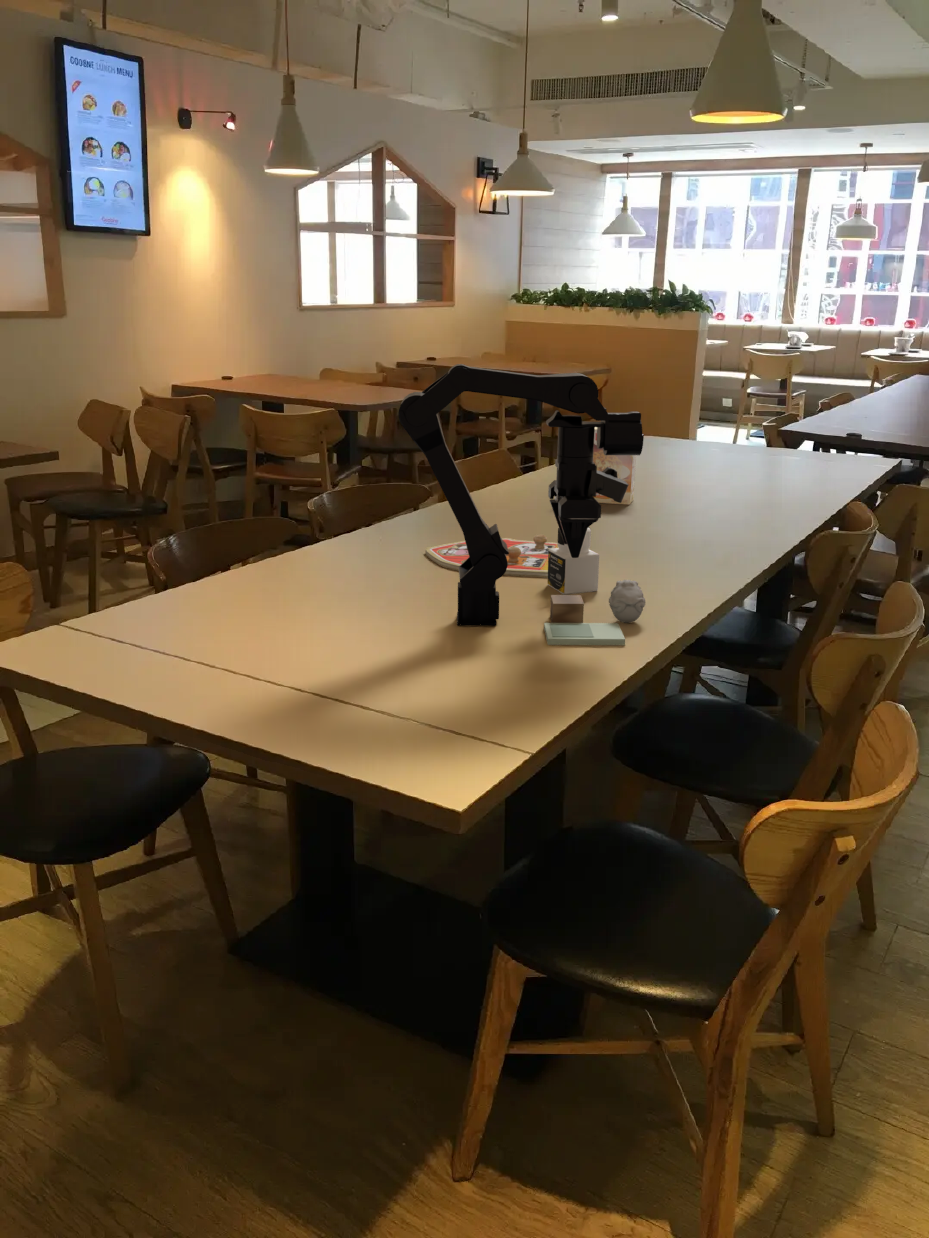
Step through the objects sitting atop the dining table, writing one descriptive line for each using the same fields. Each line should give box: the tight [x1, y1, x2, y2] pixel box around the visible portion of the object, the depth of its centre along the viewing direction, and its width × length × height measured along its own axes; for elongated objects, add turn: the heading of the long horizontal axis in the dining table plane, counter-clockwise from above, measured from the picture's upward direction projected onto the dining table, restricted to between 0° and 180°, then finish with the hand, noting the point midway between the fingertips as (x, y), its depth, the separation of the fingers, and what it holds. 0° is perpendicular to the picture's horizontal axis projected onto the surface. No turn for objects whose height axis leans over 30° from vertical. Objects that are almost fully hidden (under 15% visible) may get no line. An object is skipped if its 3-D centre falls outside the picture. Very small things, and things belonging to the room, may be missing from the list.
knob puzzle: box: [424, 534, 559, 579], centre depth 205 cm, size 29×30×4 cm
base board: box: [543, 622, 626, 646], centre depth 157 cm, size 12×8×1 cm, turn 90°
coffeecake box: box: [593, 427, 637, 506], centre depth 262 cm, size 15×7×20 cm, turn 73°
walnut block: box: [549, 594, 585, 623], centre depth 164 cm, size 5×5×4 cm
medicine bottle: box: [547, 526, 600, 595], centre depth 182 cm, size 7×7×12 cm
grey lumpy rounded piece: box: [608, 579, 646, 624], centre depth 164 cm, size 6×7×7 cm
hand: (571, 550), depth 162 cm, fingers open, 9 cm apart
